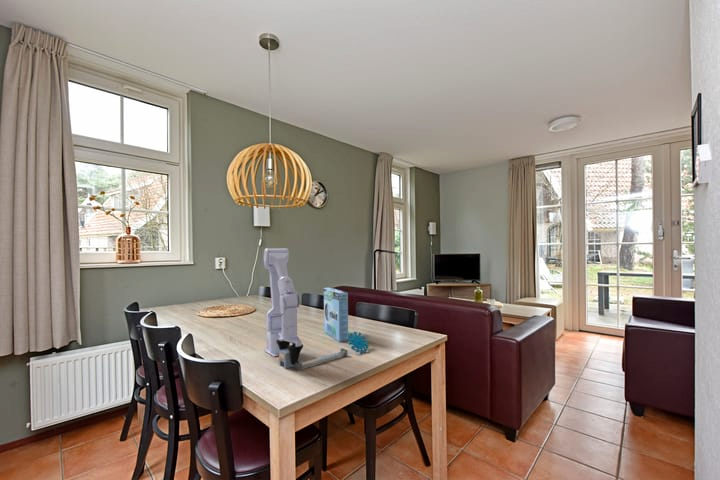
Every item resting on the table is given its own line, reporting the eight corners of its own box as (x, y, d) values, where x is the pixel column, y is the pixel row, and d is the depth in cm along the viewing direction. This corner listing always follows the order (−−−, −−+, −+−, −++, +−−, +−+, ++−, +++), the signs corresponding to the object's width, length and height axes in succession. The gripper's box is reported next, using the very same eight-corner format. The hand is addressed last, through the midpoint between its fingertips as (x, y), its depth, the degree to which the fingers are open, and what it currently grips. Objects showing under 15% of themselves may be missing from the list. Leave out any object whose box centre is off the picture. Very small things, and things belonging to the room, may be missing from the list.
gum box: (348, 340, 149) (348, 292, 149) (338, 342, 147) (338, 293, 147) (332, 330, 166) (332, 287, 167) (323, 332, 164) (323, 287, 164)
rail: (294, 368, 117) (294, 361, 117) (342, 354, 131) (342, 348, 131) (299, 370, 114) (299, 364, 114) (347, 356, 129) (347, 350, 129)
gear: (353, 352, 128) (346, 331, 135) (346, 360, 132) (339, 338, 138) (374, 351, 135) (366, 330, 141) (367, 358, 138) (360, 337, 144)
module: (278, 364, 120) (278, 350, 120) (293, 360, 124) (293, 346, 124) (284, 368, 116) (285, 353, 116) (299, 364, 120) (299, 350, 120)
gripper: (271, 323, 123) (271, 358, 123) (289, 330, 112) (289, 369, 112) (287, 320, 128) (287, 353, 128) (306, 327, 117) (306, 364, 117)
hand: (289, 360), depth 120 cm, fingers open, 7 cm apart
